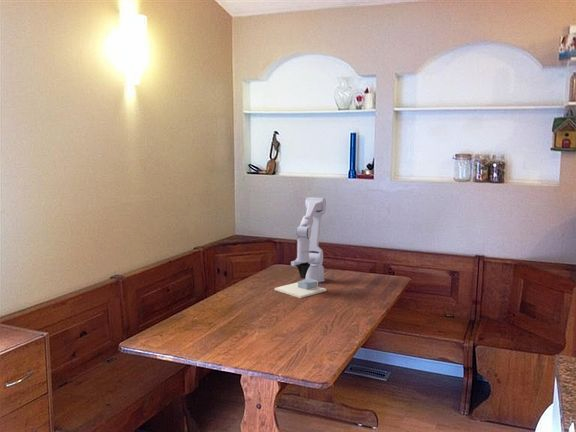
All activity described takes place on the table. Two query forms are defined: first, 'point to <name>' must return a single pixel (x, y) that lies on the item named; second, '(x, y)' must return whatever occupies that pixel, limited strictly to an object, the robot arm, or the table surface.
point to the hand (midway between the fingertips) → (302, 277)
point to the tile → (299, 290)
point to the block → (307, 284)
